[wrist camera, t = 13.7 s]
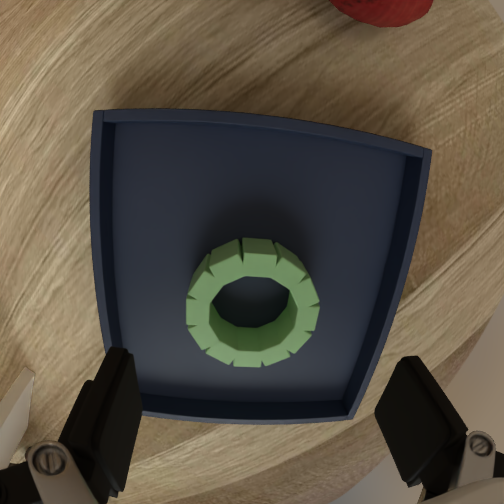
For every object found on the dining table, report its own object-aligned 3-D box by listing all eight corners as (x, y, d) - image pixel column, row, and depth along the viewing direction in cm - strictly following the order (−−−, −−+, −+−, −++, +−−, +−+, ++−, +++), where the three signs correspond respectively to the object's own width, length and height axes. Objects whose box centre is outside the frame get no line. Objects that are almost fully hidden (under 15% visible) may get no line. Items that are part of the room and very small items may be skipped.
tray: (411, 147, 16) (432, 149, 14) (345, 400, 22) (352, 419, 20) (109, 113, 14) (92, 110, 12) (125, 391, 20) (118, 411, 18)
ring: (318, 243, 17) (330, 258, 15) (297, 344, 19) (305, 368, 17) (193, 233, 16) (187, 248, 14) (190, 339, 19) (186, 363, 16)
